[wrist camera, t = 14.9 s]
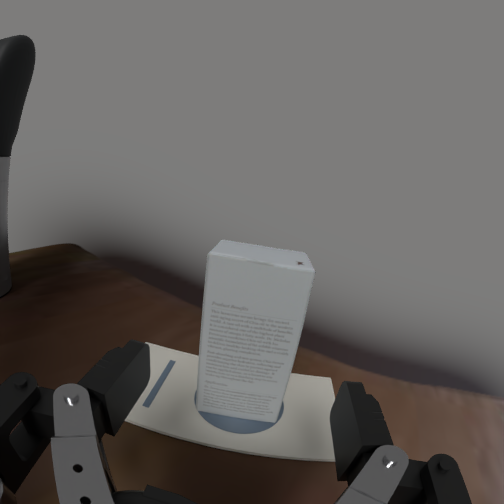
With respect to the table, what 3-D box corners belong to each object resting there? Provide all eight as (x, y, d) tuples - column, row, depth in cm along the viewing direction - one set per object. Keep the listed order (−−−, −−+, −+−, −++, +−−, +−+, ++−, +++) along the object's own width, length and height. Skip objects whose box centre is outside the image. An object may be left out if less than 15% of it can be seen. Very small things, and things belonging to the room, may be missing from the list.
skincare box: (276, 389, 22) (309, 252, 19) (276, 425, 18) (318, 270, 15) (204, 377, 22) (220, 237, 20) (192, 411, 18) (206, 252, 15)
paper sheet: (94, 408, 16) (93, 404, 16) (145, 344, 26) (145, 341, 26) (344, 461, 15) (346, 458, 15) (329, 380, 25) (331, 377, 25)
